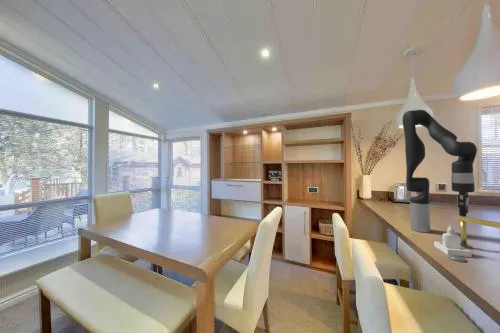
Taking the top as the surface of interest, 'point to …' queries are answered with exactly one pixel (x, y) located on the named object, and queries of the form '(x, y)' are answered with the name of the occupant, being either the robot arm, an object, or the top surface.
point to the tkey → (472, 220)
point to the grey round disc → (457, 258)
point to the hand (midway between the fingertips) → (463, 214)
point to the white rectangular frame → (452, 250)
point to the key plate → (466, 246)
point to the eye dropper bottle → (451, 239)
